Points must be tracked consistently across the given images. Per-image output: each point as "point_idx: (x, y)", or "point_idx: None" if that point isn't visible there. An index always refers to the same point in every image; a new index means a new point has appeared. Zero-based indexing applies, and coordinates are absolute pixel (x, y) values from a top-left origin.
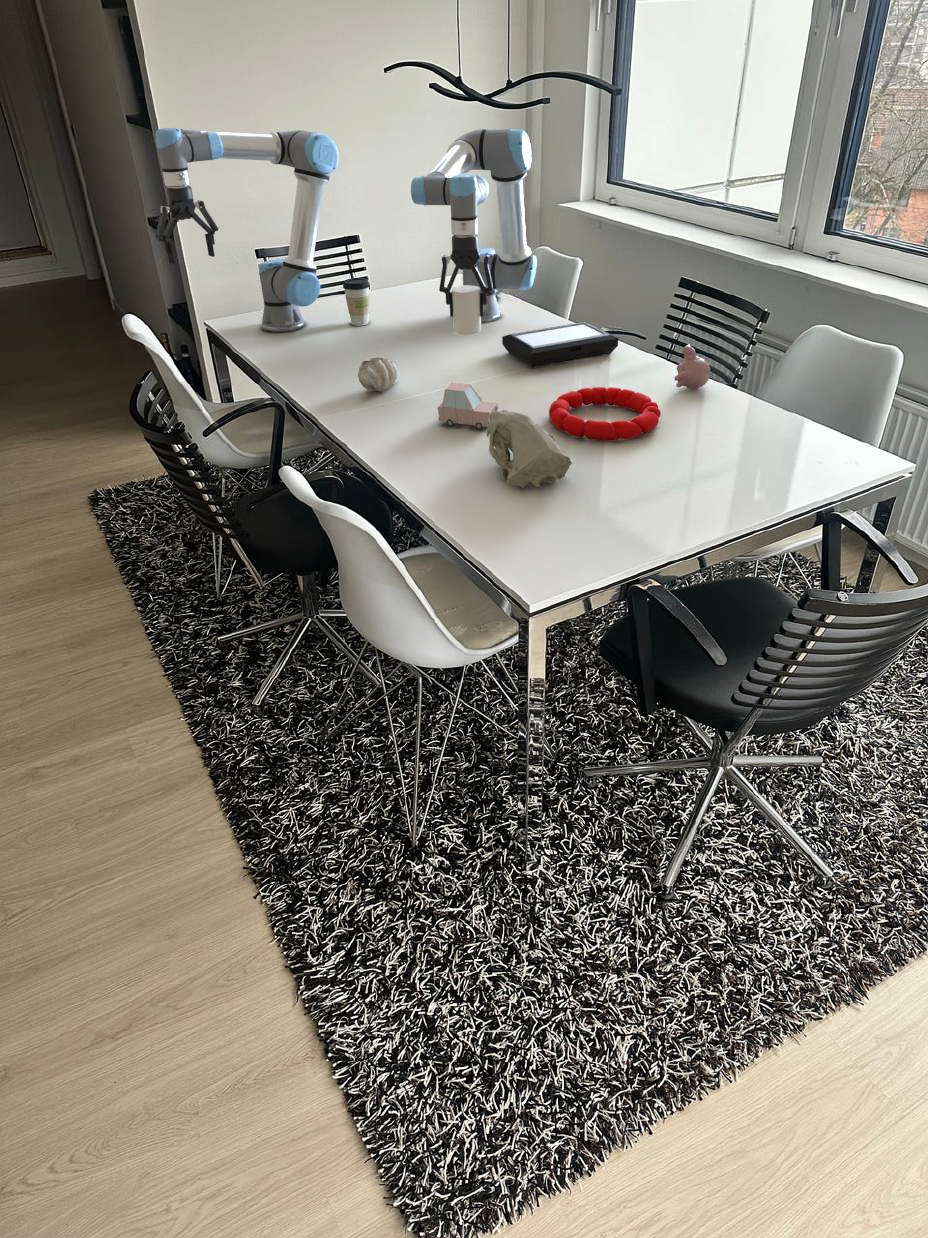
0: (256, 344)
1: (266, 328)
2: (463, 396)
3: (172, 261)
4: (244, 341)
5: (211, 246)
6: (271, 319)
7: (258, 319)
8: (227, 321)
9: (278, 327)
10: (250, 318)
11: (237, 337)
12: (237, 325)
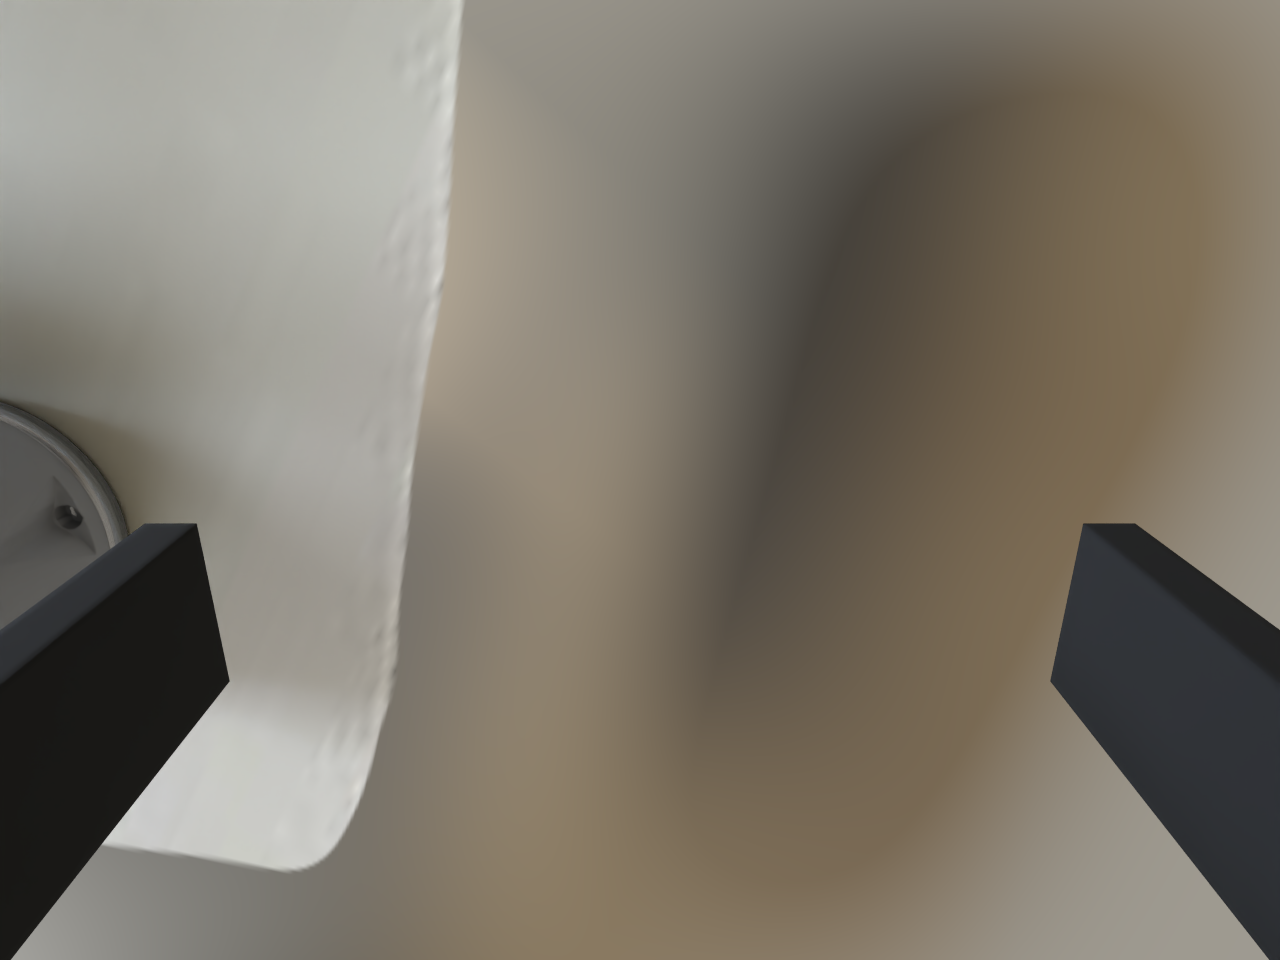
0: (284, 313)
1: (113, 517)
2: None
3: (1169, 551)
4: (326, 429)
5: (43, 630)
6: (35, 508)
7: None
8: (263, 823)
9: (37, 441)
10: None
11: (331, 532)
12: (241, 728)
